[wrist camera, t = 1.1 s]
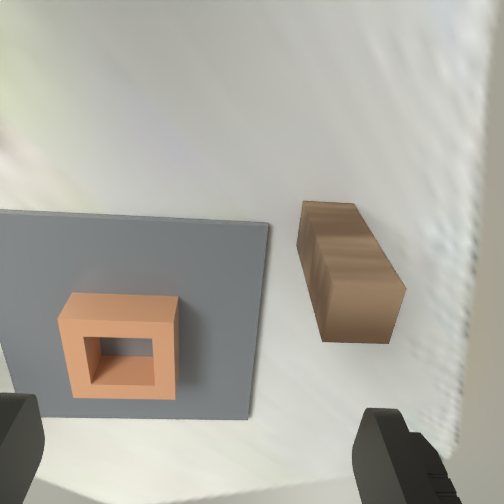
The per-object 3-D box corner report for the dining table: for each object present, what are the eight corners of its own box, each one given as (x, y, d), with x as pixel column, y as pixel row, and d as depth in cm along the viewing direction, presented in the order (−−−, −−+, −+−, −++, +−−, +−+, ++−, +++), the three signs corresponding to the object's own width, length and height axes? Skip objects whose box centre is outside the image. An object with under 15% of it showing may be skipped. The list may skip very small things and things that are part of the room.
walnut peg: (303, 200, 28) (334, 285, 20) (353, 203, 28) (406, 288, 20) (296, 245, 30) (322, 342, 21) (344, 248, 30) (388, 343, 22)
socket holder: (-35, 207, 27) (-69, 233, 24) (267, 222, 29) (271, 248, 26) (25, 411, 37) (7, 447, 34) (247, 414, 39) (248, 449, 36)
